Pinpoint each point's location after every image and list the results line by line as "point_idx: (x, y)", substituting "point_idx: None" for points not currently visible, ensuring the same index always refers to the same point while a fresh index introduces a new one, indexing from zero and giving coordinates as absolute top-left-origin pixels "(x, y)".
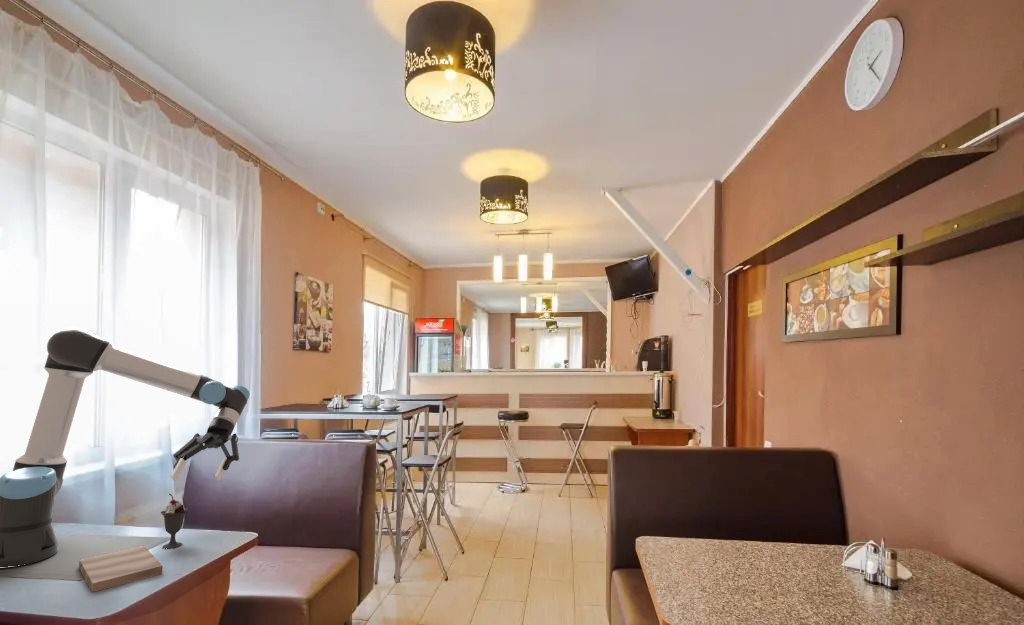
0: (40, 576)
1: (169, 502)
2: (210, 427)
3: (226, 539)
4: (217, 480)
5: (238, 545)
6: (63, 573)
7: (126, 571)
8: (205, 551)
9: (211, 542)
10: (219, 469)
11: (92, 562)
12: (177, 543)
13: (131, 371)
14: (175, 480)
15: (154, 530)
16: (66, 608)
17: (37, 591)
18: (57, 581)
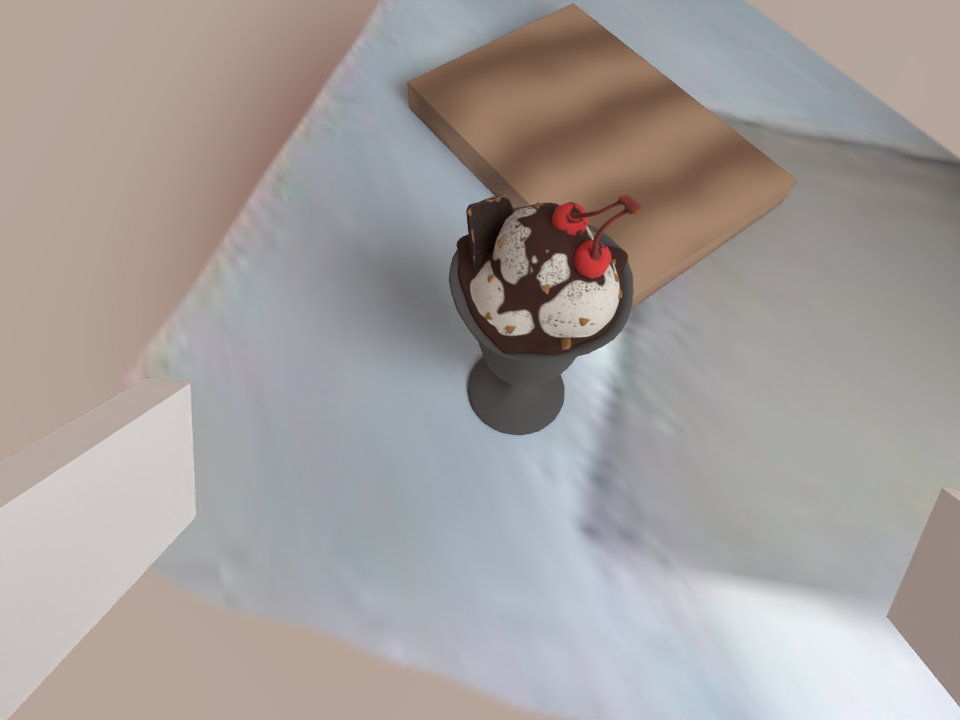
0: (853, 153)
1: (607, 249)
2: None
3: (237, 451)
4: (195, 508)
5: (154, 344)
6: (791, 164)
7: (518, 59)
8: (310, 290)
9: (315, 413)
10: (61, 439)
11: (714, 146)
12: (491, 384)
13: None
14: (900, 611)
15: None
16: None
17: (747, 58)
18: (749, 109)
